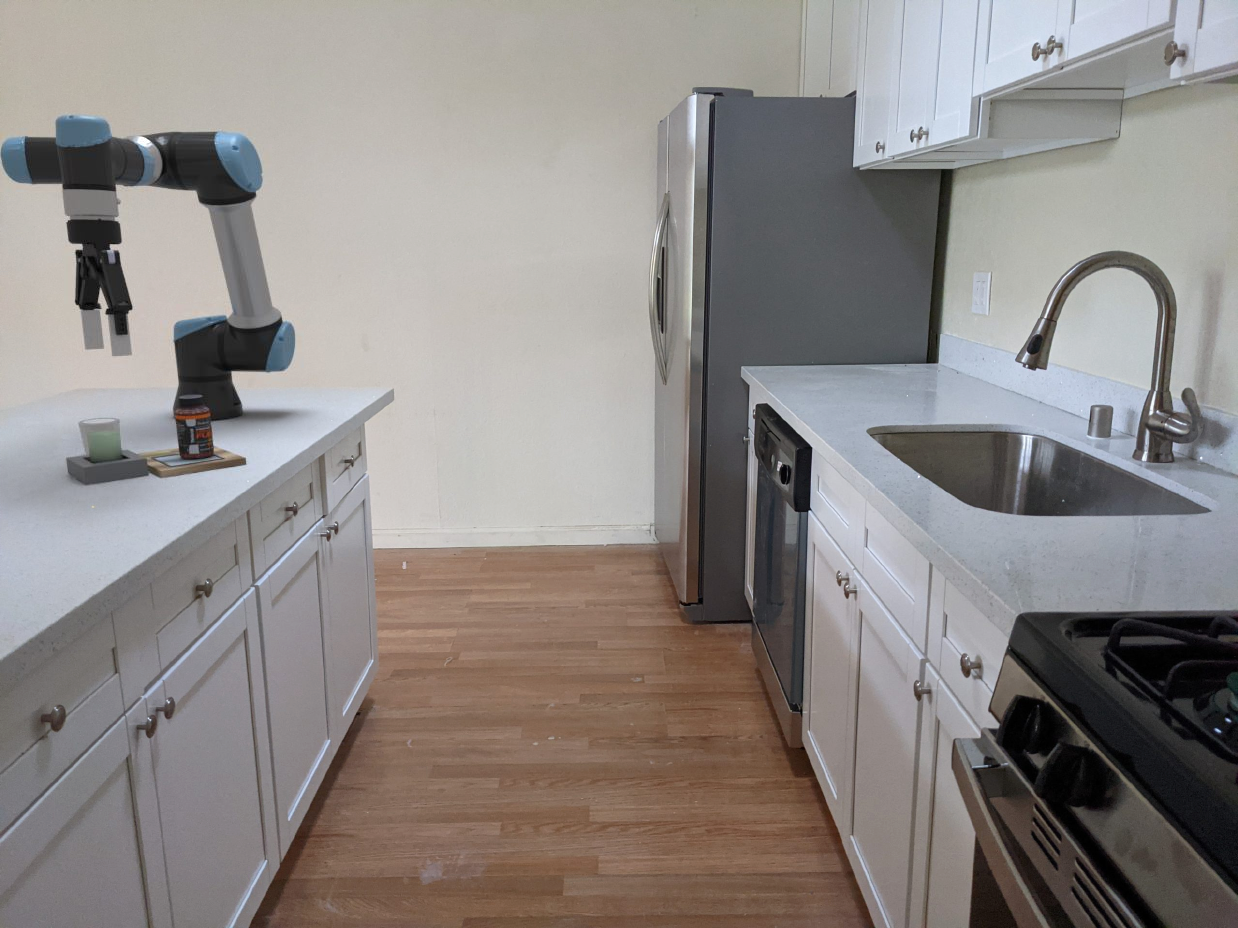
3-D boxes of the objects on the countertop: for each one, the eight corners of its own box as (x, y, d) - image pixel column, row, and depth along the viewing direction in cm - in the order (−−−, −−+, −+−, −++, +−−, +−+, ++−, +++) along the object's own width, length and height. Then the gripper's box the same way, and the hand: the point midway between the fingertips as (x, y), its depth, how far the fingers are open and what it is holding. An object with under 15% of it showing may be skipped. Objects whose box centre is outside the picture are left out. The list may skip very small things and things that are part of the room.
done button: (86, 460, 162) (83, 432, 161) (117, 456, 166) (114, 429, 164) (95, 465, 159) (92, 437, 157) (126, 461, 162) (123, 433, 161)
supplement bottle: (202, 460, 168) (195, 399, 166) (172, 459, 169) (165, 398, 167) (221, 452, 174) (214, 393, 171) (192, 451, 175) (185, 393, 172)
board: (128, 461, 173) (127, 454, 172) (209, 449, 183) (208, 443, 183) (161, 477, 161) (161, 470, 161) (246, 464, 171) (245, 457, 171)
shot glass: (82, 462, 172) (77, 425, 170) (83, 454, 178) (78, 418, 176) (123, 458, 175) (119, 422, 173) (123, 451, 181) (119, 416, 179)
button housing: (68, 474, 163) (66, 457, 162) (128, 465, 170) (127, 449, 169) (86, 484, 156) (83, 467, 155) (148, 475, 163) (146, 458, 162)
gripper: (146, 218, 141) (159, 357, 146) (93, 221, 158) (107, 345, 163) (92, 216, 136) (108, 360, 141) (44, 219, 153) (59, 347, 158)
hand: (108, 352), depth 152 cm, fingers open, 13 cm apart
